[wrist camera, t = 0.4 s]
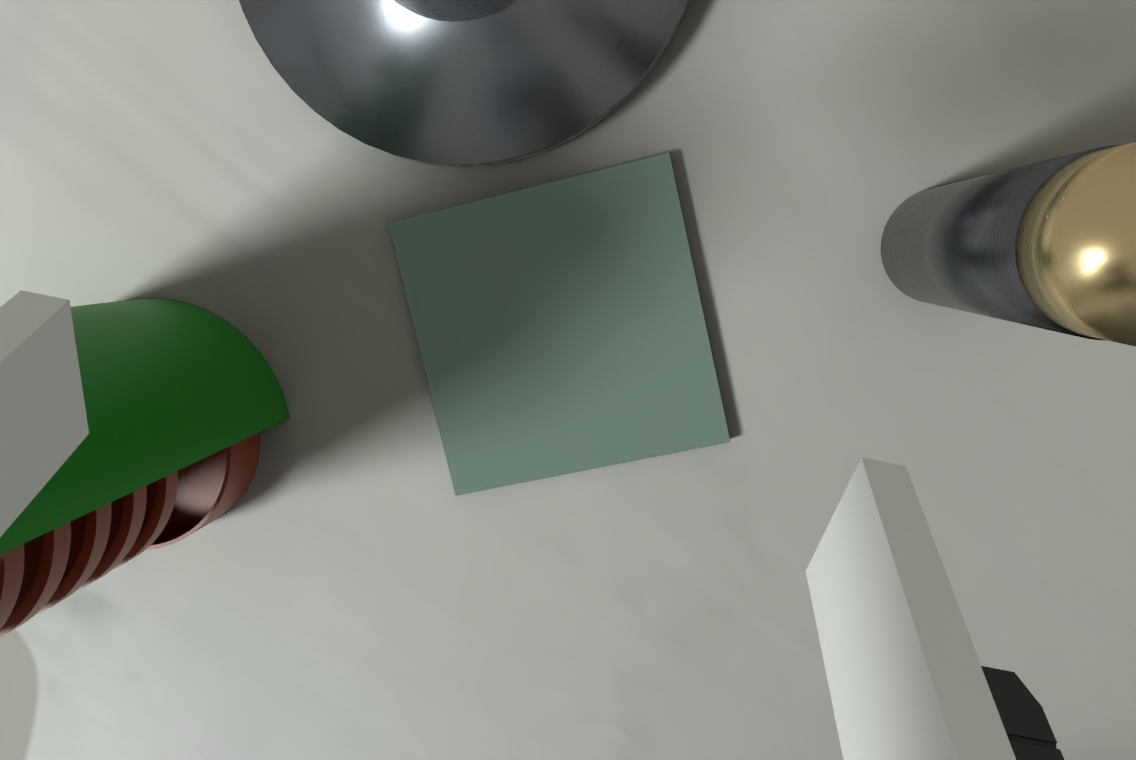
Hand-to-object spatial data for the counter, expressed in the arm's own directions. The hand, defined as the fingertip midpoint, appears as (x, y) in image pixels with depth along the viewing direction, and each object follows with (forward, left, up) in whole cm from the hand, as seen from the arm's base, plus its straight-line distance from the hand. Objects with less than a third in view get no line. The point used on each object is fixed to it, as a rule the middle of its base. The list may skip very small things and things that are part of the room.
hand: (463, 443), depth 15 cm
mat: (+1, 0, -17) cm, 17 cm away
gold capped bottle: (0, -13, -17) cm, 21 cm away
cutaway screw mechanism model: (+1, +16, -17) cm, 24 cm away
